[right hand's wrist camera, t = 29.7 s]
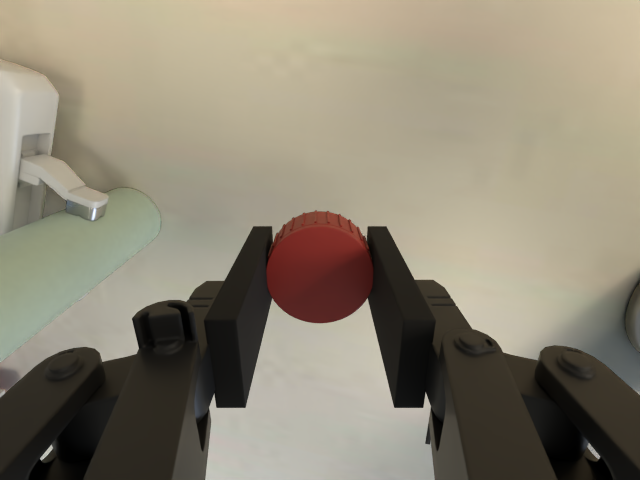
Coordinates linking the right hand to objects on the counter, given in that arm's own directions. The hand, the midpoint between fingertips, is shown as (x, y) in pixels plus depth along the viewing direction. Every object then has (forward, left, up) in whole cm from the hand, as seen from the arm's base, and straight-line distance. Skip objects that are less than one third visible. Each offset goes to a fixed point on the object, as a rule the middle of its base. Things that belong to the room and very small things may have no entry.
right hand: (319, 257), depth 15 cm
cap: (0, 0, +2) cm, 2 cm away
